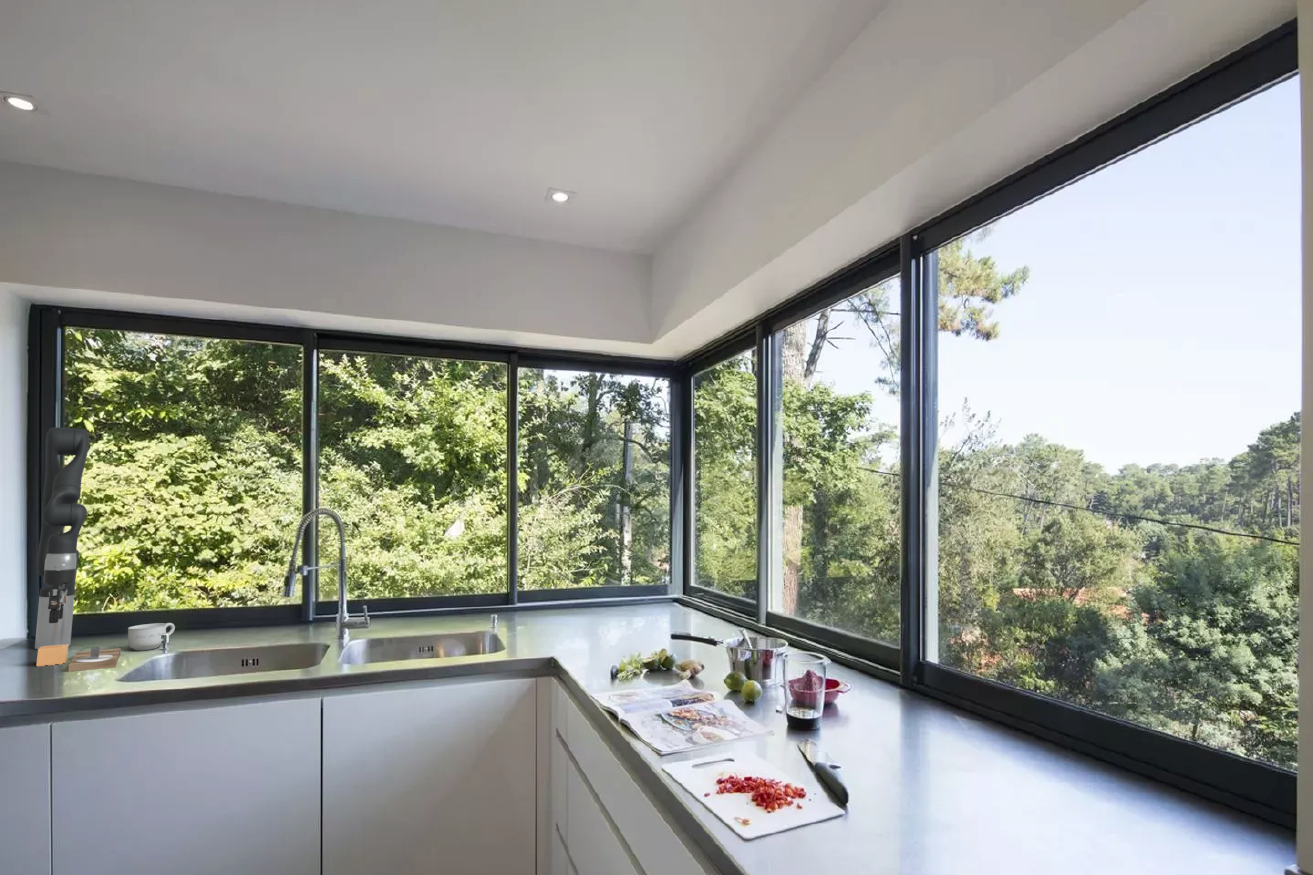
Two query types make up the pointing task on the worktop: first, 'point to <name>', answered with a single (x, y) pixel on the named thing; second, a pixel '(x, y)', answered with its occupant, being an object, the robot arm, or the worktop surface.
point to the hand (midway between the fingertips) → (55, 620)
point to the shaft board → (95, 659)
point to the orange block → (52, 655)
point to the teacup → (147, 635)
